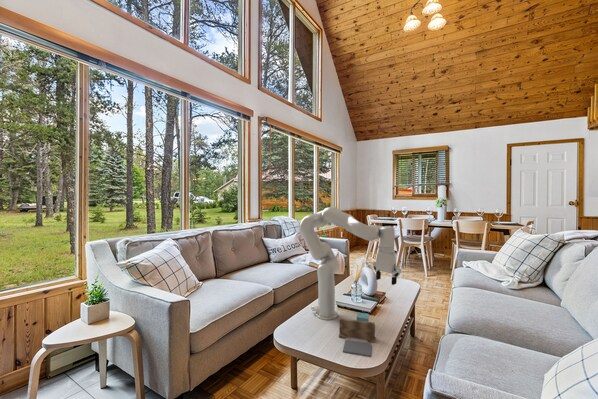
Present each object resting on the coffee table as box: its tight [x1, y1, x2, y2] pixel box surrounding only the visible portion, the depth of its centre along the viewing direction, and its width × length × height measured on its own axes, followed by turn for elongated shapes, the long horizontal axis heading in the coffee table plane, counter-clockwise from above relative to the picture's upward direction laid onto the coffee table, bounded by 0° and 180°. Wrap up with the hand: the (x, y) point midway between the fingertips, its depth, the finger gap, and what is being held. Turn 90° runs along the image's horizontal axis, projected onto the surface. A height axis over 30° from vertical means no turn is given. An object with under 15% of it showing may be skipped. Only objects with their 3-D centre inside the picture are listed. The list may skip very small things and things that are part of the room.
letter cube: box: [355, 311, 370, 322], centre depth 148 cm, size 6×6×6 cm
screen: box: [338, 317, 376, 344], centre depth 137 cm, size 17×6×8 cm, turn 74°
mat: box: [342, 339, 372, 357], centre depth 127 cm, size 12×10×1 cm
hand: (385, 281), depth 148 cm, fingers open, 9 cm apart
